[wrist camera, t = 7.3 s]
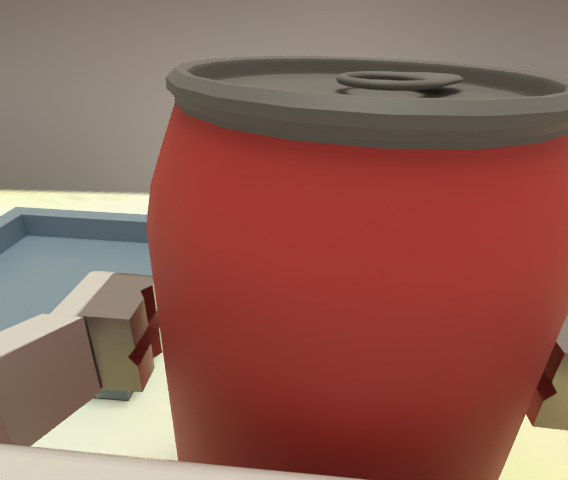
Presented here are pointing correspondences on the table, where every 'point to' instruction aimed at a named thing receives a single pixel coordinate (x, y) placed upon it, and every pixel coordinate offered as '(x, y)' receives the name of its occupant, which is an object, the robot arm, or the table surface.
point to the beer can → (358, 262)
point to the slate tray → (64, 258)
